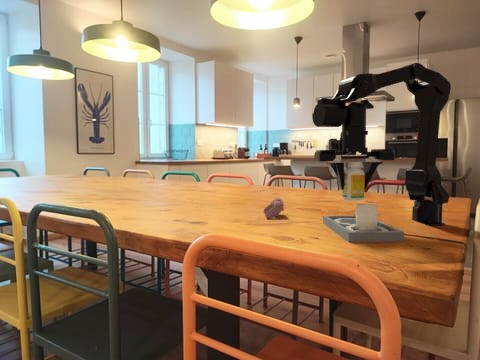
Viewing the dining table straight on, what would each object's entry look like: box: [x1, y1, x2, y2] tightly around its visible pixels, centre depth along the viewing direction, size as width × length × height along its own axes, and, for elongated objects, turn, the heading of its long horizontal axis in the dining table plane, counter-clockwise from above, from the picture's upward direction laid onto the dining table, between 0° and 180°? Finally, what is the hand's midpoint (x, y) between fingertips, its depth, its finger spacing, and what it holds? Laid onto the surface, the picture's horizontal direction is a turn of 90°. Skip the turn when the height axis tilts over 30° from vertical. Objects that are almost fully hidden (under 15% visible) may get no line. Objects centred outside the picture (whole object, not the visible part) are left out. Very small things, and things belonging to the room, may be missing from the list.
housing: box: [322, 214, 405, 243], centre depth 83 cm, size 12×20×3 cm, turn 2°
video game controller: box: [263, 197, 285, 220], centre depth 110 cm, size 10×5×7 cm, turn 0°
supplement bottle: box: [341, 160, 365, 202], centre depth 87 cm, size 5×5×10 cm
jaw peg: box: [355, 203, 378, 231], centre depth 79 cm, size 5×5×7 cm
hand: (353, 189), depth 87 cm, fingers closed on supplement bottle, 5 cm apart
